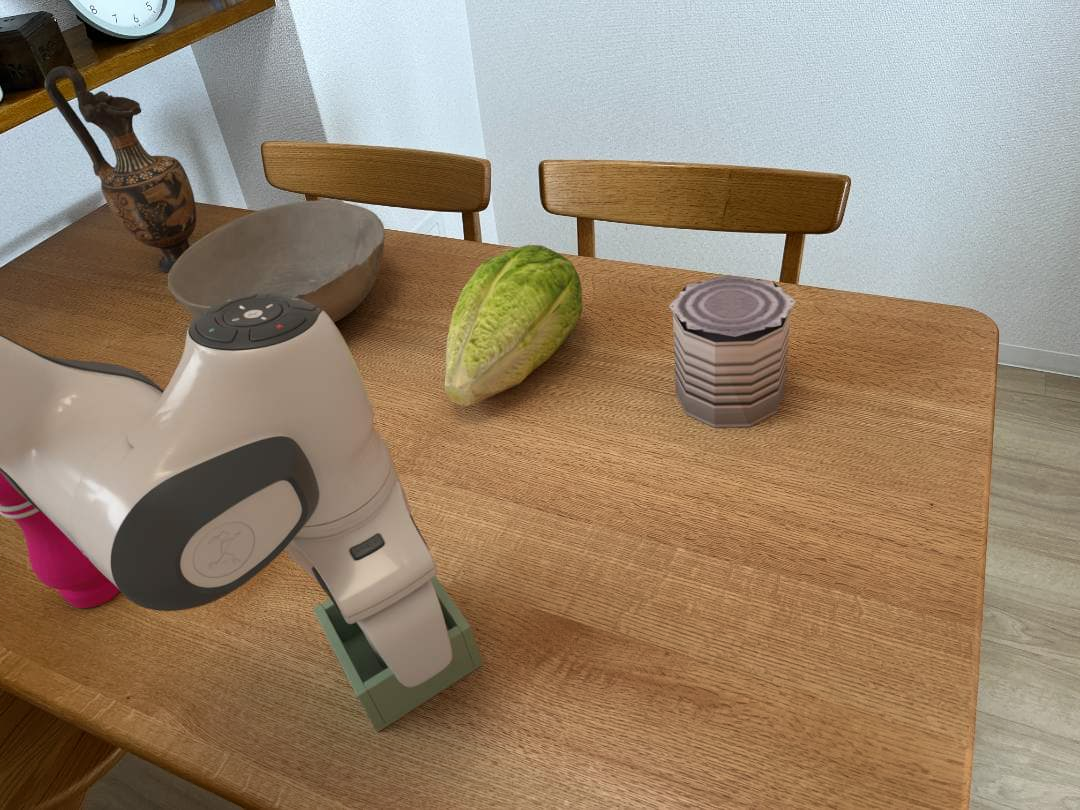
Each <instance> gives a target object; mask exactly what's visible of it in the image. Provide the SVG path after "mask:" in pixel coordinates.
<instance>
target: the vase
mask: <svg viewBox="0 0 1080 810" xmlns="http://www.w3.org/2000/svg"><path fill="white" fill-rule="evenodd" d="M59 78H65V79H68V80H69V81H70V82H71V83H72V85H73V90H74V92H75V96H76V99H77V104H78V106H77V107H78V110H79V113H80V114H81V116H82V118H84V121H85V123H88V124H89V123H91V124H93V125H95V126H96V127H98V128H99V129H100V130H102V132H103V133H104V134H105V135H106V137H107V139H108V141H109V143H110V145H111V147H112V150H113V152H114V155H115V159H116V163H115V166H112V164H110V163H109V162H108V161H107V160H106V159H105V157H104V155H103V153H102V151H101V150H100V147H99V146H98V144H97V142H96V141H95V139H94V138H93V136H92V134H91V132H90V131H89V130H88V127H87V126H85V124H84V122H83V121H82V119H81V118H80V117H79V115H78V114H77V113H76V111H75V110H74V108H73V107H72V106H71V104H70V103H69V102H68V101H67V99H66V97H65V96H64V94H63V93H62V92H61V90H60V89H59V87H58V85H57V83H56V82H57V81H56V80H57V79H59ZM44 88H45V92H46V93H47V96H48V97H49V99H50V101H51V102H52V104H53V105H54V106H55V107H56V109H57V110H58V111H59V113H60V115H61V116H62V117H63V119H64V120H65V121H66V123H67V124H68V126H69V127H70V129H71V130H72V131H73V133H74V134H75V136H76V137H77V139H78V140H79V142H80V143H81V144H82V146H83V148H84V149H85V151H86V152H87V154H88V156H89V158H90V160H91V162H92V169H93V173H94V175H95V176H96V177H98V178H99V180H100V189H101V192H102V195H103V197H104V199H105V202H106V203H107V205H108V207H109V209H110V211H111V213H112V214H113V215H114V217H115V219H116V220H117V221H118V222H119V224H120V225H121V226H122V227H123V228H124V229H125V231H126V232H127V233H129V234H130V235H131V237H133V238H134V239H136V240H137V241H138V242H139V243H142V244H144V245H146V246H148V247H151V248H156V249H159V251H161V253H162V254H163V256H162V258H161V259H160V260H159V262H158V269H159V270H160V271H161V272H164V273H169V272H170V270H171V268H172V266H173V265H174V263H175V262H176V261H177V260H178V258H179V257H180V256H181V255H182V254H183V253H184V252H185V251H186V250H187V249H188V248H189V247H190V246H191V244H190V242H189V239H190V237H191V236H192V235H193V233H194V232H195V229H196V224H197V208H196V207H197V206H196V200H195V195H194V191H193V189H192V185H191V182H190V179H189V177H188V174H187V172H186V170H185V168H184V166H183V165H182V163H181V162H180V161H179V160H178V159H177V158H175V157H172V156H168V155H152V154H150V153H148V152H147V151H146V149H145V148H144V147H143V145H142V144H141V142H140V140H139V139H138V137H137V135H136V132H135V131H134V126H133V119H134V116H137V115H140V114H141V113H142V108H141V104H140V102H138V101H136V100H134V99H131V98H128V97H124V96H113V95H109V94H108V93H107V92H106V91H105V90H104V91H103V90H100V91H98V92H96V93H93V92H91V91H89V89H88V85H87V82H86V80H85V78H84V76H83V74H82V73H81V72H80V71H78V70H77V69H76V68H73V67H71V66H66V65H61V66H57V67H55V68H54V67H53V68H52V69H51V70H50V71H49V72H48V73H47V75H46V76H45V78H44Z"/></svg>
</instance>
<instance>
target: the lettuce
mask: <svg viewBox="0 0 1080 810" xmlns="http://www.w3.org/2000/svg"><path fill="white" fill-rule="evenodd" d="M581 283H582V282H581V277H580V275H579V272H577V269H576V268H575V266H574V264H573V263H572V261H571V260H569V259H567V258H566V257H565V256H563V255H561V254H560V253H559V252H557V251H555V250H553V249H550V248H548V247H547V246H544V245H538V244H526V245H523V246H519V247H516V248H513V249H510V250H508V251H506V252H503V253H501V254H499V255H495V256H492V257H489V258H486V259H485V260H484V261H483V262H482V263H481V264H480V265H479V266H478V267H477V268H476V269H475V271H474V272H473V274H472V275H471V276H470V278H469V279H468V281H467V283H465V285H464V287H463V288H462V289H461V292H460V294H459V297H458V299H457V302H456V304H455V306H454V308H453V311H452V315H451V320H450V323H449V328H448V332H447V333H448V334H447V338H446V343H445V375H444V394H445V395H446V396H447V397H448V398H449V400H451V401H452V402H453V403H454V404H457V405H459V406H462V407H464V408H465V407H468V406H471V405H474V404H476V403H479V402H482V401H483V400H486V399H488V398H489V397H492V396H494V395H497V394H500V393H502V392H504V391H506V390H509V389H511V388H513V387H516V386H518V385H520V384H521V383H522V382H523V381H524V380H526V379H527V378H528V376H529V375H530V374H532V372H534V370H536V369H538V368H539V367H540V366H541V365H542V364H544V363H545V362H546V361H548V360H549V359H550V358H551V357H552V356H553V355H554V354H555V353H556V352H557V351H558V350H559V348H561V347H562V345H563V344H564V343H565V342H566V341H567V340H568V339H569V337H570V336H571V334H572V332H573V331H574V329H575V328H576V326H577V325H578V323H579V320H580V318H581V315H582V312H583V289H582V284H581Z"/></svg>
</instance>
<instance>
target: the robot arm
mask: <svg viewBox="0 0 1080 810" xmlns="http://www.w3.org/2000/svg"><path fill="white" fill-rule="evenodd" d="M374 415H375V414H374V407H373V403H372V400H371V397H370V394H369V392H368V389H367V386H366V384H365V381H364V379H363V377H362V373H361V372H360V369H359V367H358V364H357V362H356V360H355V358H354V356H353V354H352V352H351V350H350V348H349V346H348V344H347V341H346V340H345V338H344V337H343V335H342V332H341V331H340V330H339V328H338V327H337V326H336V324H335V323H334V322H333V321H332V320H331V318H330V317H329V316H328V315H327V314H326V313H325V312H324V311H323V310H322V309H321V308H319V307H318V306H316V305H314V304H312V303H309V302H307V301H305V300H303V299H300V298H297V297H294V296H290V295H286V294H280V293H262V294H255V293H254V294H247V295H242V296H238V297H234V298H231V299H227V300H225V301H222V302H220V303H217V304H215V305H213V306H212V307H210V308H208V309H206V310H205V311H203V312H202V313H200V314H199V315H198V316H197V317H196V318H195V317H194V318H193V319H192V321H191V322H190V323H189V326H188V327H187V330H186V337H185V343H184V348H183V352H182V355H181V357H180V360H179V361H178V364H177V366H176V369H175V370H174V373H173V374H172V377H171V378H170V380H169V382H168V384H167V385H166V387H165V389H163V388H161V387H160V385H158V384H157V383H156V382H155V381H153V379H151V378H149V377H148V376H146V375H145V374H143V373H141V372H139V371H137V370H135V369H132V368H129V367H126V366H122V365H119V364H114V363H107V362H99V361H91V360H90V361H88V360H78V359H77V360H76V359H67V358H62V357H55V356H51V355H46V354H42V353H40V352H37V351H35V350H32V349H30V348H28V347H26V346H24V345H22V344H20V343H18V342H16V341H14V340H12V339H10V338H8V337H6V336H4V335H2V334H0V472H1V473H2V475H3V476H4V477H5V478H6V479H7V481H8V482H9V483H10V484H11V485H12V486H13V487H14V489H15V490H16V491H17V492H19V493H20V494H21V495H22V496H23V497H24V498H25V499H26V500H28V501H29V502H30V503H31V504H32V505H33V506H34V507H36V508H37V509H38V510H39V511H41V512H42V513H44V514H45V515H46V516H47V517H48V518H49V519H50V520H51V521H52V522H53V523H54V524H55V525H56V526H57V527H58V528H59V529H60V530H61V531H62V532H63V533H64V534H65V535H66V536H67V537H68V538H69V539H70V540H71V541H72V542H73V543H74V544H75V545H76V546H77V547H78V548H79V549H80V550H81V552H82V553H83V554H84V555H85V556H86V557H88V558H89V560H90V561H91V562H92V564H93V565H94V566H95V567H96V568H97V569H98V570H99V571H100V572H101V573H102V574H103V575H104V576H105V577H106V578H107V579H108V580H110V581H111V582H112V583H113V584H114V585H115V586H116V587H117V588H118V589H119V590H120V593H121V594H122V595H123V596H124V597H125V598H126V599H127V600H129V601H130V602H132V603H134V604H135V605H137V606H139V607H141V608H145V609H148V610H152V611H159V612H177V611H185V610H191V609H194V608H198V607H202V606H206V605H209V604H211V603H213V602H215V601H218V600H220V599H222V598H224V597H226V596H228V595H229V594H231V593H233V592H234V591H236V590H238V589H239V588H240V587H242V586H244V585H245V584H246V583H248V582H249V581H251V579H253V578H254V577H255V576H257V574H259V573H260V572H261V571H262V570H264V569H265V568H267V566H269V565H270V564H271V563H272V562H274V560H275V559H277V557H278V556H279V555H280V554H281V553H282V552H283V551H284V550H285V552H286V554H287V556H288V557H289V558H290V559H291V560H292V561H293V562H294V563H296V564H298V565H299V566H300V568H302V570H304V571H305V572H306V573H307V574H308V575H309V576H310V578H312V579H314V580H315V581H316V582H317V583H318V585H319V586H320V587H321V588H322V590H323V591H324V592H325V594H326V595H327V597H328V599H331V600H332V602H333V604H334V605H335V607H336V608H337V610H338V612H341V614H342V615H343V617H344V619H345V621H346V622H347V623H349V624H353V623H356V622H357V624H358V625H359V627H360V628H361V630H362V631H363V632H364V634H365V635H366V637H367V638H368V639H369V641H370V642H371V644H372V645H373V647H374V648H375V649H376V651H377V652H378V654H379V655H380V656H381V658H382V659H383V661H384V662H385V663H386V665H387V666H388V667H389V669H390V670H391V672H392V673H393V674H394V676H395V677H396V678H397V680H398V681H399V682H400V683H401V684H402V685H404V686H405V687H414V686H417V685H419V684H421V683H423V682H425V681H426V680H428V679H430V678H432V677H433V676H435V675H436V674H438V673H439V672H440V671H442V670H443V669H444V668H446V667H447V666H448V665H449V663H450V662H451V660H452V648H451V643H450V639H449V635H448V631H447V628H446V624H445V620H444V616H443V613H442V609H441V606H440V603H439V600H438V597H437V594H436V592H435V589H434V587H433V584H432V582H431V580H430V579H432V578H433V577H434V576H437V574H438V568H437V565H436V562H435V559H434V556H433V554H432V553H431V551H430V549H429V546H428V544H427V542H426V540H425V539H424V537H423V535H422V533H421V531H420V530H419V528H418V526H417V524H416V522H415V520H414V518H413V514H412V512H411V507H410V502H409V500H408V497H407V494H406V492H405V489H404V486H403V484H402V482H401V479H400V476H399V474H398V471H397V468H396V466H395V465H396V464H395V462H394V460H393V457H392V455H391V451H390V449H389V447H388V445H387V442H386V441H385V439H384V438H383V436H382V435H381V434H380V433H379V432H378V431H377V430H376V428H375V426H374Z"/></svg>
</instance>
